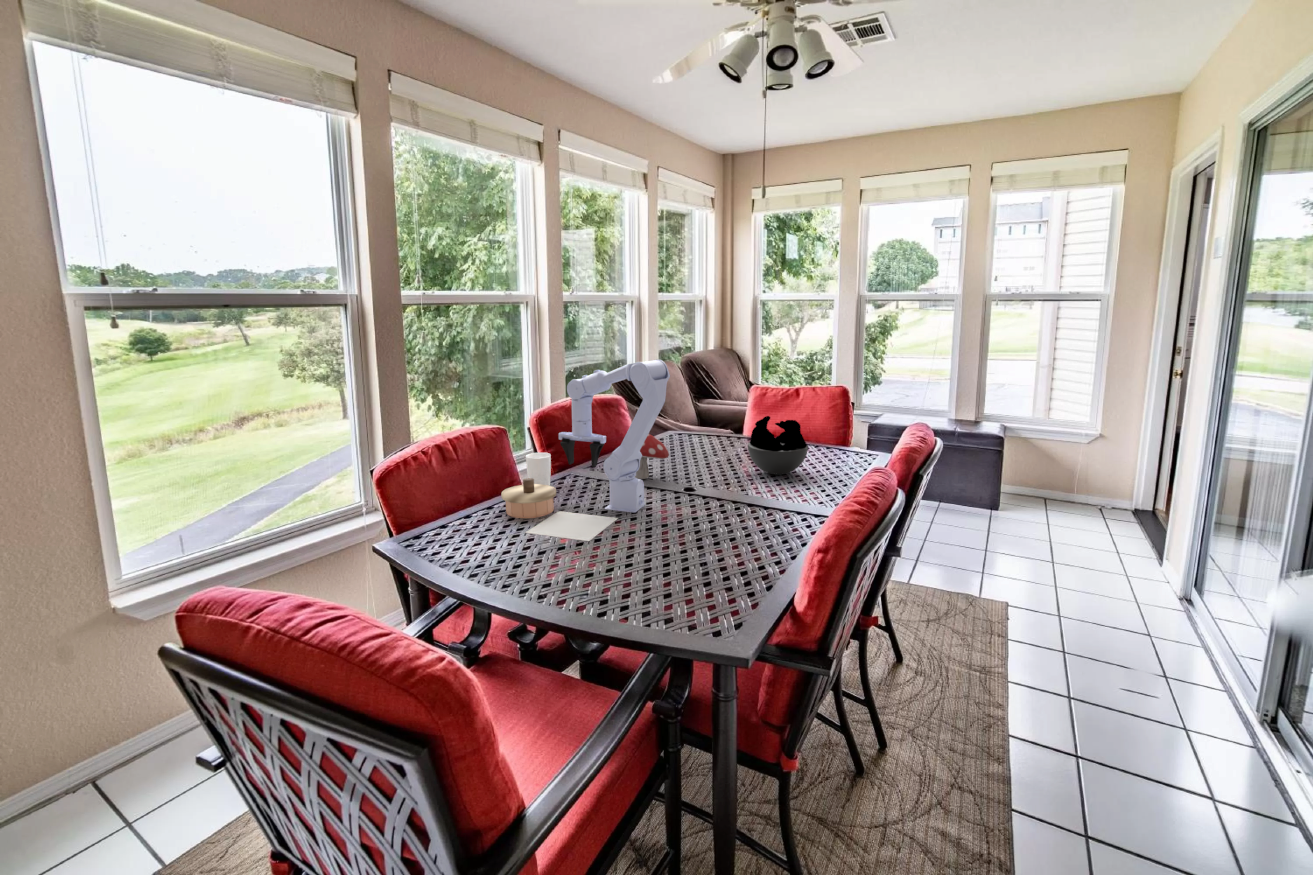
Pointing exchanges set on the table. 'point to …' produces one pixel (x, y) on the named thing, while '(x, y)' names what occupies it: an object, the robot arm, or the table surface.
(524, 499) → the oak lid
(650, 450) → the decorative mushroom
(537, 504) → the terracotta bowl
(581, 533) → the white square mat
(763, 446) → the coal bowl
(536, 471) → the white cup
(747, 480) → the table surface
